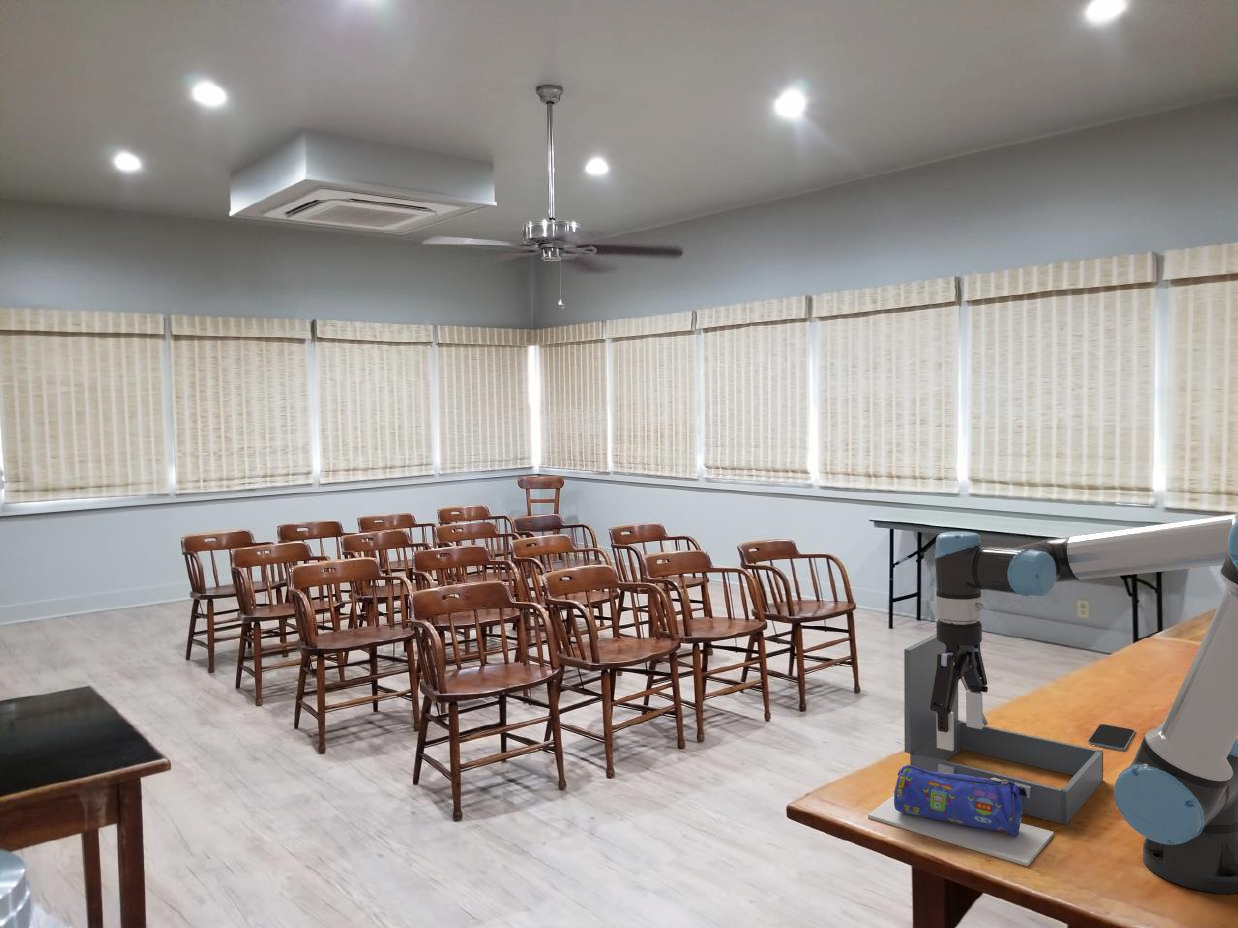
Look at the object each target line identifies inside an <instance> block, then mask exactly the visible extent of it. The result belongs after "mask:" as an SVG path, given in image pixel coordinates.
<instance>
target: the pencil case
mask: <svg viewBox="0 0 1238 928" xmlns="http://www.w3.org/2000/svg"><path fill="white" fill-rule="evenodd" d="M893 793H894V794H893V795H894V807H895V809H896V810H897V811H899V812H903V813H907V814H913V815H918V816H923V817H928V818H933V819H936V820H940V821H945V822H950V823H956V824H960V825H965V826H972V827H976V828H982V829H987V830H993V831H997V832H1003V833H1008V834H1010V835H1013V836H1017V835H1019V828H1020V825H1021V823H1022V820H1023V813H1022V802H1021V796H1023V797H1027V793H1026V789H1025V788H1023V787H1018V786H1017V785H1016V784H1015V783H1013V782H1011V781H1007V780H1000V779H997V778H991V779H987V778H976V777H973V776H968V775H962V774H950V773H942V772H931V771H927V770H924V769H920V768H918V767H915V766H912V765H910V764H906V765H903V766H902V767H901V768H900V769H899V771H898V772H897V780H896V783H895V787H894V790H893Z"/></svg>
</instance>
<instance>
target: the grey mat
mask: <svg viewBox="0 0 1238 928" xmlns="http://www.w3.org/2000/svg"><path fill="white" fill-rule="evenodd" d="M867 818H868V819H871V820H874V821H878V822H881V823H885V824H888V825H890V826H894V827H897V828H900V829H903V830H907V831H910V832H914V833H916V834H919V835H922V836H927V837H929V838H933V839H937V840H938V841H939V840H940V841H943V842H946V843H948V844H949V843H950V844H952V845H955V846H959V847H962V848H965V849H969V850H972V851H975V852H979V853H982V854H986V855H988V856H991V857H996V858H998V859H1001V860H1005V861H1008V862H1011V863H1014V864H1018V865H1021V866H1024V867H1029V866H1030V865H1031V864H1032V863H1033V861H1034V859H1036V858H1037V857H1038V855H1039V854H1040V852H1042V850H1043V849H1044V848H1045V846H1047V844H1048V843H1049V842H1050V841H1051V839H1052V838H1053V837H1054V836H1055V832H1054V831H1051V830H1048V829H1044V828H1041V827H1037V826H1033V825H1030V824H1026V823H1022V822H1021V825H1020V828H1019V835H1017V836H1013V835H1010V834H1008V833H1003V832H997V831H993V830H987V829H982V828H976V827H972V826H965V825H960V824H956V823H950V822H945V821H940V820H936V819H933V818H928V817H923V816H918V815H913V814H907V813H903V812H899V811H897V810H896V809H895V807H894V794H893V795H892V796H891V797H889V798H888V799H887V800H885V801H884V802H882V803H881V804H880V805H879V806H878V807H876V808H875V809H873V810H872V811H871V812H870V813H868V814H867Z"/></svg>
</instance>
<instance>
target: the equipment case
mask: <svg viewBox="0 0 1238 928" xmlns="http://www.w3.org/2000/svg"><path fill="white" fill-rule="evenodd" d="M945 651H946V645H945V644H944V643H942V642H940V641H938V639H937V632H936V633H935V634H932V635H930V636H928V637H926V638H924V639H923V640H920V641H918V642H917V643H916V642H915V643H914V644H912V645H909V646H908V647H906V648H904V654H903V655H904V658H903V660H904V661H903V662H904V665H903V666H904V668H903V669H904V674H903V677H904V679H903V680H904V681H903V682H904V683H903V684H904V687H903V688H904V691H903V692H904V693H903V694H904V696H903V697H904V698H903V699H904V701H903V702H904V705H903V706H904V710H903V711H904V719H903V720H904V728H903V729H904V753H906V754H910V755H909V758H910V759H909V762H910V764H909V765H912V766H915V767H918V768H920V769H924V770H927V771H931V772H942V773H950V774H962V775H968V776H973V777H976V778H987V779H991V778H997V779H1000V780H1007V781H1011V782H1013V783H1015V784H1016V785H1017V786H1018V787H1023V788H1025V789H1026V793H1027V797H1023V796H1021V802H1022V815H1023V814H1024V815H1027V816H1032V817H1036V818H1040V819H1041V820H1046V821H1049V822H1053V823H1058V824H1061V825H1065V826H1066V825H1068V824H1069V822H1070V821H1071V820H1072V818H1074V816H1075V815H1076V814H1077V813H1078V812H1079V810H1080V809H1081V808H1082V806H1083V805H1085V803H1086V801H1087V800H1088V799H1089V798H1090V797H1091V795H1093V793H1094V792H1095V791H1096V790H1097V788H1098V787H1099V786H1100V785H1101V784H1102V782H1103V781H1104V750H1100V749H1095V748H1092V747H1086V746H1081V745H1076V744H1072V743H1067V742H1063V741H1058V740H1053V739H1050V738H1043V737H1038V736H1035V735H1030V734H1026V733H1020V732H1015V731H1011V730H1005V729H1000V728H996V727H992V726H989V722H988V720H987V718H986V715H985V714H984V713H983V728H982V729H977V728H973V727H968V726H966V720H961V719H960V720H959V685H958V686H957V690H956V694H955V697H954V701H953V705H952V709H951V712H954V750H953V751H950V750H945V749H941V748H937V724H936V711H931V710H930V705H931V699H932V693H933V687H934V681H935V675H936V669H937V655H938V653H944V654H945ZM960 681H961V683H962V685H963V687H964V689H965V692H966V691H971V690H969V689H968V687H967V684H966V682H965V680H964V677H963V678H962V679H960ZM941 705H942V704H941ZM961 750H963V751H967V752H971V753H972V752H973V753H976V754H980V755H985V756H988V757H993V758H998V759H1000V760H1001V759H1002V760H1005V761H1009V762H1016V763H1019V764H1023V765H1027V766H1032V767H1036V768H1039V767H1041V768H1040V769H1044V768H1045V770H1048V769H1049V770H1048V771H1052V772H1057V773H1060V774H1061V773H1062V774H1065V775H1070V776H1072V777H1071V779H1069V781H1068V782H1067V783H1066V784H1065V785H1064V786H1063V787H1062V788H1060V787H1056V786H1051V785H1048V784H1044V783H1040V782H1035V781H1031V780H1027V779H1023V778H1019V777H1016V776H1015V777H1014V776H1011V775H1007V774H1002V773H999V772H995V771H990V770H987V769H982V768H978V767H975V766H969V765H966V764H962V763H957V762H954V761H950V760H949V759H950V758H951V757H953V756H954V755H955V754H957V753H958V752H959V751H961Z"/></svg>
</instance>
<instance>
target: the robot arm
mask: <svg viewBox="0 0 1238 928" xmlns="http://www.w3.org/2000/svg"><path fill="white" fill-rule="evenodd" d="M934 554H935V555H934V560H935V580H936V581H935V583H936V585H935V587H936V590H935V592H936V594H935V616H936V617H937V618H938V619H937V620H936V626H935V627H936V633H937V639H938V641H940V642H942V643H944V644H945V645H946V651H945V654H944V653H938V655H937V669H936V675H935V681H934V687H933V693H932V699H931V705H930V710H931V711H936V724H937V748H941V749H945V750H950V751H953V750H954V712H951V709H952V705H953V701H954V697H955V694H956V690H957V686H958V687H959V682H960V681H961V679H962V678H963V677H964V680H965V682H966V684H967V687H968V689H969V690H971V691H966V690H965V704H966V705H965V709H966V710H965V712H966V713H965V715H966V720H965V722H966V726H968V727H973V728H977V729H982V728H983V726H984V725H983V714H984V712H983V710H984V709H983V704H984V703H983V693H988V690H989V687H988V686H987V685H988V679H987V675H986V671H985V666H984V662H983V656H982V652H981V643H982V640H983V631H982V630H983V627H982V626H983V623H982V622H981V621H980V620H981V618H982V609H984V607H985V604H984V603H982V590H983V591H993V592H1000V593H1007V594H1013V595H1019V596H1023V597H1028V596H1035V597H1044V596H1047V595H1048V594H1050V593H1051V591H1052V589H1053V588H1054V586H1055V584H1056V583H1063V582H1071V581H1079V580H1088V579H1101V578H1107V577H1110V578H1111V577H1121V576H1128V575H1137V574H1138V575H1139V574H1140V575H1141V574H1149V573H1157V572H1158V573H1159V572H1168V571H1177V570H1178V571H1179V570H1188V569H1201V568H1210V567H1218V566H1219V567H1220V566H1222V567H1221V568H1220V572H1219V575H1220V577H1221V579H1222V581H1223V582H1224V584H1225V587H1226V589H1225V590H1224V592H1223V595H1222V598H1221V600H1220V601H1219V604H1218V606H1217V607H1216V610H1215V612H1214V614H1213V617H1212V619H1211V620H1210V622H1209V625H1208V628H1207V629H1206V631H1205V634H1204V635H1203V638H1202V640H1201V643H1200V644H1199V647H1198V648H1197V651H1196V653H1195V655H1194V657H1193V659H1192V662H1191V663H1190V666H1189V668H1188V671H1187V673H1186V675H1185V676H1184V679H1183V681H1182V683H1181V685H1180V688H1179V690H1178V691H1177V693H1176V697H1175V699H1174V701H1173V703H1172V705H1171V707H1170V709H1169V711H1168V713H1167V716H1166V718H1165V720H1164V722H1163V723H1161V724H1159V725H1158V726H1157V727H1155V728H1151V729H1149V730H1147V732H1146V733H1144V734H1145V735H1144V737H1143V738H1142V741H1141V743H1140V744H1139V747H1138V749H1137V751H1136V754H1135V755H1134V758H1133V759H1132V762H1131V764H1130V765H1129V766H1128V767H1125V768H1124V769H1123V770H1122V771H1121V772H1120V773H1119V775H1118V777H1117V779H1116V781H1115V784H1114V787H1113V796H1114V802H1115V804H1116V807H1117V808H1118V810H1119V813H1120V814H1121V817H1122V818H1123V819H1124V821H1125V822H1126V823H1127V825H1129V826H1130V827H1131V829H1133V830H1134V831H1135V832H1137V833H1138V834H1140V835H1141V836H1142V837H1145V839H1144V841H1143V845H1142V860H1143V861H1142V862H1143V863H1144V865H1145V866H1146V867H1147V868H1148V869H1149V870H1150V871H1151V872H1153V873H1154V874H1155V875H1158V876H1159V877H1160V878H1163V879H1164V880H1167V881H1168V882H1170V883H1173V884H1176V885H1177V886H1178V885H1179V886H1182V887H1184V888H1189V889H1192V890H1197V891H1201V892H1206V893H1212V894H1214V893H1215V894H1223V895H1225V894H1226V893H1230V894H1238V893H1237V892H1238V511H1237V512H1236V513H1230V514H1223V515H1218V516H1217V515H1215V516H1209V517H1203V518H1195V519H1189V520H1188V519H1187V520H1181V521H1175V522H1166V523H1159V524H1152V525H1146V526H1139V527H1130V528H1122V529H1117V530H1109V531H1103V532H1096V533H1090V534H1089V533H1087V534H1082V535H1081V534H1080V535H1075V536H1074V535H1073V536H1070V537H1061V538H1059V537H1051V538H1044V539H1042V540H1041V539H1040V540H1038V541H1036V542H1033V543H1027V544H1024V545H1020V546H1016V547H997V546H996V547H995V546H987V545H983V542H982V539H981V536H980V535H979V533H976V532H972V531H971V532H970V531H945V532H941V533H939V534H938V535H937V536H936V539H935V552H934ZM941 704H942V705H941Z"/></svg>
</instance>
